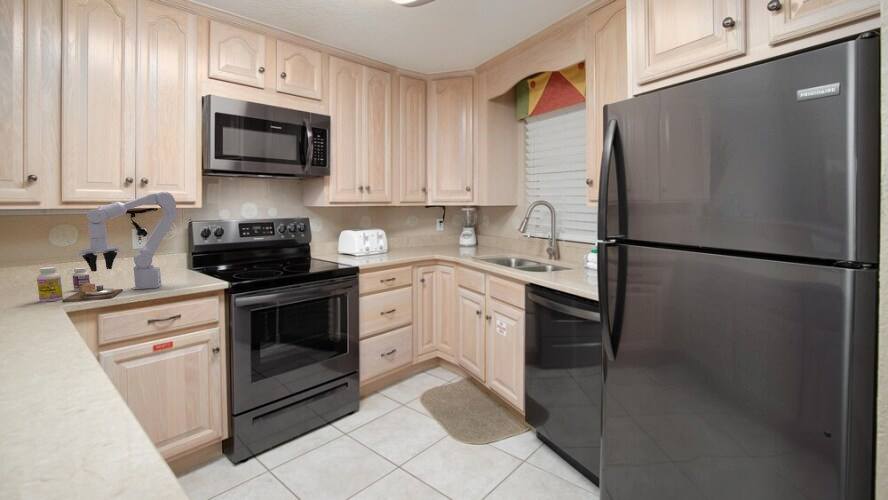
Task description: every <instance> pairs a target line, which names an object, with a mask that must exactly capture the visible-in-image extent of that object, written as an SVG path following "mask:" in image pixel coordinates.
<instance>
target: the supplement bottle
mask: <svg viewBox="0 0 888 500" xmlns="http://www.w3.org/2000/svg"><path fill="white" fill-rule="evenodd" d="M39 273H40V274H39V275H37V276H36V282H37V291H38V292H37V293H38V300H39V302H42V303H46V302H47V303H49V302H56V301H60V300H61V301H62V300H63V296H64V295H63V288H62V276H61V274H59V273H57V267H56V266H47V267H40V268H39Z"/></svg>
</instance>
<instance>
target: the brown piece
mask: <svg viewBox="0 0 888 500" xmlns="http://www.w3.org/2000/svg"><path fill="white" fill-rule="evenodd" d="M113 289H114V291H115V292H113V293H110V294H104V295H94V296H88V295H86V293H85V292H84V286H79V290H80V291H76V292H75V293H73V294H71V295H70V296H68V297H66V298H64V299H63V298H62V299H61V301H62V303H72V302H74V303H75V302H85V301H96V300H97V301H98V300H108V299H110V300H111V299H113V298H114V297H116V296H118V295H119V294H120V293H122V292H124V291H123V290H124V289H123V288H113Z"/></svg>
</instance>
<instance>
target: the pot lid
mask: <svg viewBox="0 0 888 500" xmlns="http://www.w3.org/2000/svg"><path fill="white" fill-rule="evenodd" d="M83 286H84V292H85V293H86V295H88V296H94V295H104V294H110V293H113V292H115V291H114V289H115V288H111V287H109V288H108V287H107V288H104V284H101V285H96V283H90V284H83Z"/></svg>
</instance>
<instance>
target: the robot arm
mask: <svg viewBox="0 0 888 500" xmlns="http://www.w3.org/2000/svg"><path fill="white" fill-rule="evenodd" d="M175 199H176V198H175V197H174V196H173V194H171V192H168V191H160V192H158V193H156V192H155V193H150V194H146V195H143V196H140V197H137V198H134V199H132V200H130V201H126V202H121V201H116V202H115V201H111V202H110V203H109V204H106V205H104V206H103V205H102V206H97V208H93V209H91V210H89V211H88V212H87V213H86V219H87V220H88V223H87V226H88V238H89V247H90V248H88V249H80V250H79V249H78V255H79V256H82V258H83V259H84V260H85V261H86V263H87V265H88V267H89V269H90V271H91V272H98V269H97V268H98V266H97V261H98V260H97V259H98V255H97V254H101V253H102V255H103V258H104V260H105V268H106V270H112V268H113V265H114V262H115V258H116V257H117V255H118V252H120V246H109V244H108V243H109V241H108V235H107V234H108V233H107V227H106V224H105V220H112V219H115V218H117V217H120V216H124V215H126V214H127V211H128V210H132V209H135V208H137V207H138V208H139V207H140V206H143V205H147V204H150V205H158V206H159V207H160V208H161V211H162V213H163V215H162V217H161V218H160V220H159V221H158V223H157V225H156V226H155V229H154V230H153V231H152V233H151V234H150V236H149V238H148V239H147V241H146V243H145V244H144V245H143V247H142V248H141V249H140V251H138V252H137V253H135V254H134V256H133V261H134V264H135V266H132V267H133V276H134V278H133V279H134V287H132V288H131V289H132V290H143V289H157V288H160V287H161V286H162V275H161V273H162V272H161V269H160V267H159V266H157V267H155V266H154V265H153V264H152V263H153V257H154V256H155V253H156V251H157V249H158V247H159V246H160V244H161V243H162V241H163V239H164V237H165V236H166V235H167V232H169V230H170V228H171V226H172V225H173V223H174V222H175V220H176V219H177V216H178V211H177V201H176V200H175Z"/></svg>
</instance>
